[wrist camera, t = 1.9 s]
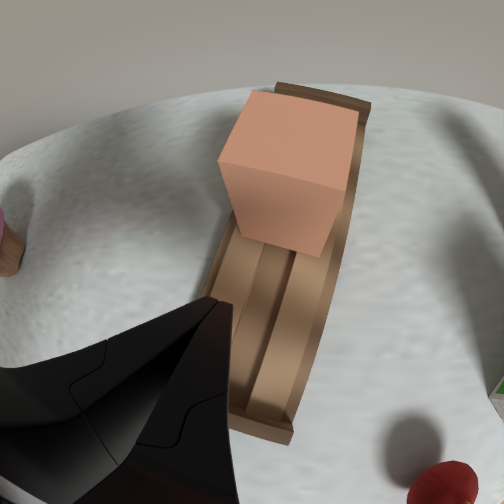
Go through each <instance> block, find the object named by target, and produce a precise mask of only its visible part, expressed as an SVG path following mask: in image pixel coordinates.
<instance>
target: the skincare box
mask: <svg viewBox="0 0 504 504" xmlns="http://www.w3.org/2000/svg"><path fill="white" fill-rule="evenodd" d="M489 399H490V400H491V402H492V403H493V405H494V407H495V408H496V410H497V411H498V413H499V415H500V417H501V418H502V420H503V422H504V375H503V376H502V378H501V380H500V381H499V383H498V384H497V386H496V387H495V388H494V390H493V391H492V392H491V394H490V396H489Z"/></svg>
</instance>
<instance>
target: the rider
mask: <svg viewBox="0 0 504 504" xmlns="http://www.w3.org/2000/svg"><path fill="white" fill-rule="evenodd" d="M358 115H359V112H358V111H354V110H351V109H347V108H343V107H339V106H335V105H331V104H327V103H322V102H318V101H313V100H309V99H304V98H299V97H293V96H288V95H282V94H276V93H270V92H263V91H256V90H253V91H252V93H251V94H250V96H249V98H248V100H247V102H246V104H245V106H244V108H243V110H242V112H241V114H240V116H239V118H238V120H237V122H236V124H235V126H234V128H233V130H232V132H231V134H230V136H229V138H228V140H227V142H226V144H225V146H224V148H223V150H222V152H221V154H220V156H219V159H218V161H217V162H218V165H219V168H220V171H221V174H222V177H223V180H224V183H225V186H226V189H227V192H228V195H229V198H230V201H231V204H232V207H233V210H234V213H235V216H236V220H237V223H238V226H239V229H240V232H241V235H242V236H243V237H246V238H250V239H253V240H257V241H261V242H264V243H268V244H272V245H275V246H279V247H282V248H286V249H290V250H293V251H297V252H300V253H304V254H307V255H311V256H314V257H318V258H319V257H320V255H321V252H322V250H323V247H324V245H325V242H326V240H327V238H328V235H329V233H330V230H331V228H332V225H333V223H334V220H335V217H336V215H337V212H338V210H339V207H340V205H341V202H342V199H343V197H344V194H345V191H346V186H347V181H348V176H349V170H350V165H351V159H352V153H353V147H354V141H355V135H356V129H357V122H358Z"/></svg>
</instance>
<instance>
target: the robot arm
mask: <svg viewBox="0 0 504 504" xmlns="http://www.w3.org/2000/svg"><path fill="white" fill-rule="evenodd" d="M233 309H234V306H233V304H231V303H228V302H225V301H219V300H218V299H216V298H213V297H210V296H204V297H202V298H199V299H197V300H195V301H193V302H190V303H188V304H186V305H184V306H181V307H179V308H177V309H175V310H172V311H170V312H168V313H166V314H163V315H161V316H159V317H157V318H154V319H152V320H150V321H147V322H145V323H143V324H140V325H138V326H136V327H134V328H131V329H129V330H127V331H124V332H122V333H120V334H117V335H115V336H113V337H110V338H108V340H106V339H105V340H103V341H101V342H98V343H96V344H93V345H91V346H88V347H86V348H83V349H80V350H78V351H75V352H72V353H69V354H65V355H62V356H59V357H56V358H52V359H49V360H45V361H42V362H38V363H35V364H31V365H27V366H23V367H18V368H3V367H0V504H240V503H239V498H238V493H237V488H236V481H235V475H234V468H233V461H232V454H231V447H230V439H229V428H228V400H229V394H228V393H229V378H230V359H231V342H232V325H233Z"/></svg>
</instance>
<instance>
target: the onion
mask: <svg viewBox="0 0 504 504" xmlns="http://www.w3.org/2000/svg"><path fill="white" fill-rule="evenodd" d="M478 489H479V488H478V478H477V475H476V473H475V472H474V471H473V469H472V468H471V467H470V466H469V465H468V464H465V463H462V462H458V461H454V460H453V461H447V462H442V463H439V464H437V465H435V466H432V467H430V468H428V469H427V470H426V471H424V472H423V473H422V474H421V475H419V476H418V477H417V479H416V480H415V481H414V483H413V484H412V485H411V487H410V490H409V492H408V495H407V504H474V502H475V500H476V497H477V494H478Z"/></svg>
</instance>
